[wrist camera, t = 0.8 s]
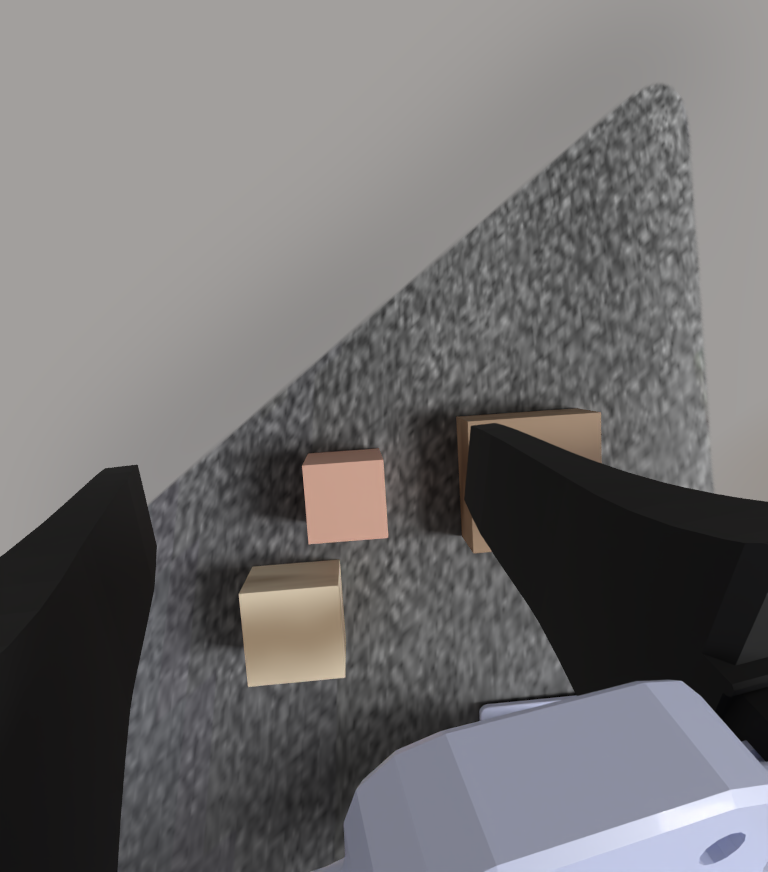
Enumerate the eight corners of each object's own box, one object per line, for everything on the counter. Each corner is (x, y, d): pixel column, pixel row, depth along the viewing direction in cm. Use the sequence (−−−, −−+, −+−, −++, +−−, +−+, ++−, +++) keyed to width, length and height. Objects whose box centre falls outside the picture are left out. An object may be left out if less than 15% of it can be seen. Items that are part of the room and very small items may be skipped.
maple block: (345, 639, 32) (345, 677, 28) (260, 647, 32) (247, 686, 28) (339, 558, 32) (338, 585, 28) (252, 565, 31) (238, 594, 27)
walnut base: (578, 526, 32) (602, 542, 29) (461, 535, 32) (473, 553, 29) (576, 408, 31) (600, 412, 28) (456, 416, 31) (467, 421, 28)
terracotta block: (383, 516, 31) (388, 537, 27) (313, 521, 31) (308, 544, 27) (378, 448, 31) (383, 459, 27) (308, 453, 31) (301, 465, 27)
